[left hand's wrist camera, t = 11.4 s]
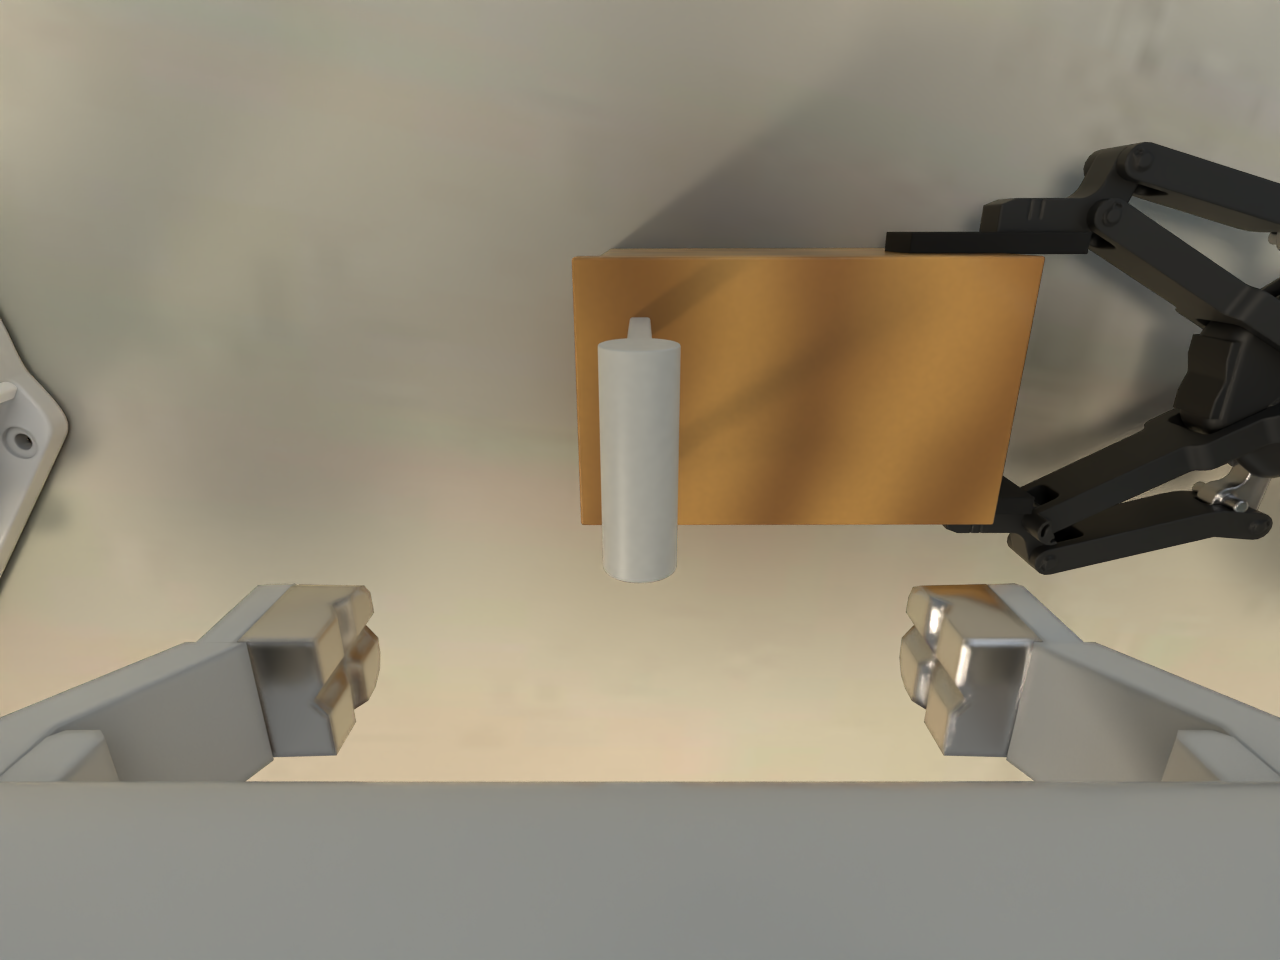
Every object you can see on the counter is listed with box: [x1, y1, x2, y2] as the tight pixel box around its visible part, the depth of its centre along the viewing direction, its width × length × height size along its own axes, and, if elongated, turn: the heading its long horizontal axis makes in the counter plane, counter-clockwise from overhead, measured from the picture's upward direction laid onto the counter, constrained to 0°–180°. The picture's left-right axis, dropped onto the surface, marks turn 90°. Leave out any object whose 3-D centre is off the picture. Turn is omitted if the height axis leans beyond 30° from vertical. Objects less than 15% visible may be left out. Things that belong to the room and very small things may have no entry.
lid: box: [572, 255, 1045, 583], centre depth 21 cm, size 16×10×9 cm, turn 90°
